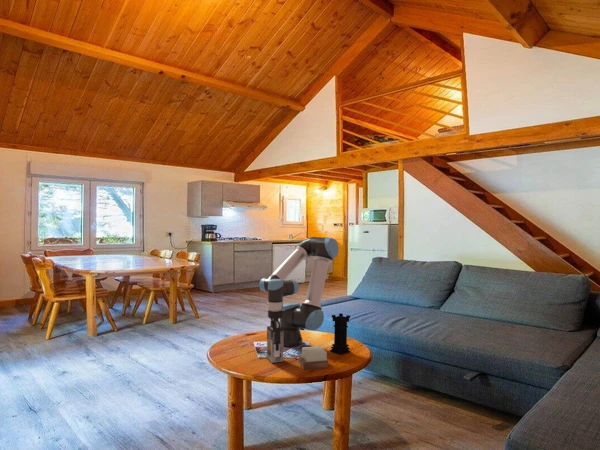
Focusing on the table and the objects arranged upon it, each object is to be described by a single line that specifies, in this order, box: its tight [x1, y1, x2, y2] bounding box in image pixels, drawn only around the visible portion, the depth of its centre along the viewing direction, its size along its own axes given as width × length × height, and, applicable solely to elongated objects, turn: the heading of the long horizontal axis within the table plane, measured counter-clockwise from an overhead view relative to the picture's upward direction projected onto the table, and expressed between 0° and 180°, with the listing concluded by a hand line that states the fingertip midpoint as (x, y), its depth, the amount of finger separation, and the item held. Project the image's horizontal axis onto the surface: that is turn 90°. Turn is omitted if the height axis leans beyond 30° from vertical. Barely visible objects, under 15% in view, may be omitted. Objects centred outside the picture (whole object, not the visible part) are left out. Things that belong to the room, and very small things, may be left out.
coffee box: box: [266, 325, 284, 364], centre depth 209 cm, size 9×6×16 cm
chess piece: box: [329, 312, 352, 356], centre depth 224 cm, size 8×8×20 cm
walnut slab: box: [297, 353, 329, 371], centre depth 203 cm, size 12×12×4 cm
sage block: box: [301, 345, 328, 362], centre depth 203 cm, size 10×10×4 cm
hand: (274, 353), depth 209 cm, fingers closed on coffee box, 9 cm apart
